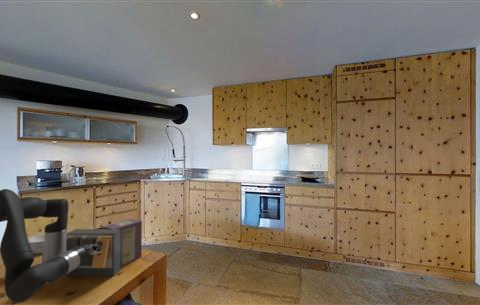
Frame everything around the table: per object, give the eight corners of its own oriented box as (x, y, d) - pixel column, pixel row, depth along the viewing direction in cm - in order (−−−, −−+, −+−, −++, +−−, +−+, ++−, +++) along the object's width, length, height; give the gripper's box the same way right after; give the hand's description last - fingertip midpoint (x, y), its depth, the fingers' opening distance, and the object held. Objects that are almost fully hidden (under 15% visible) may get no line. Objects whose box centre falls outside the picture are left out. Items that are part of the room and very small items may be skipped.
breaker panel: (62, 278, 108) (63, 234, 109) (75, 269, 117) (75, 229, 117) (111, 279, 109) (111, 235, 109) (120, 270, 117) (120, 229, 117)
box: (113, 270, 117) (113, 229, 117) (101, 266, 121) (102, 226, 121) (141, 257, 132) (141, 221, 132) (130, 253, 136) (130, 218, 136)
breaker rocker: (91, 267, 104) (96, 238, 108) (95, 267, 107) (100, 238, 111) (102, 268, 104) (107, 239, 108) (106, 267, 107) (110, 238, 111)
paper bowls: (18, 253, 135) (18, 239, 135) (48, 244, 149) (49, 231, 150) (34, 258, 130) (34, 243, 130) (64, 248, 144) (64, 234, 144)
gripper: (86, 251, 89) (114, 235, 107) (53, 249, 90) (86, 234, 108) (86, 271, 89) (114, 252, 106) (53, 269, 90) (86, 251, 108)
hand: (100, 243), depth 107 cm, fingers closed
